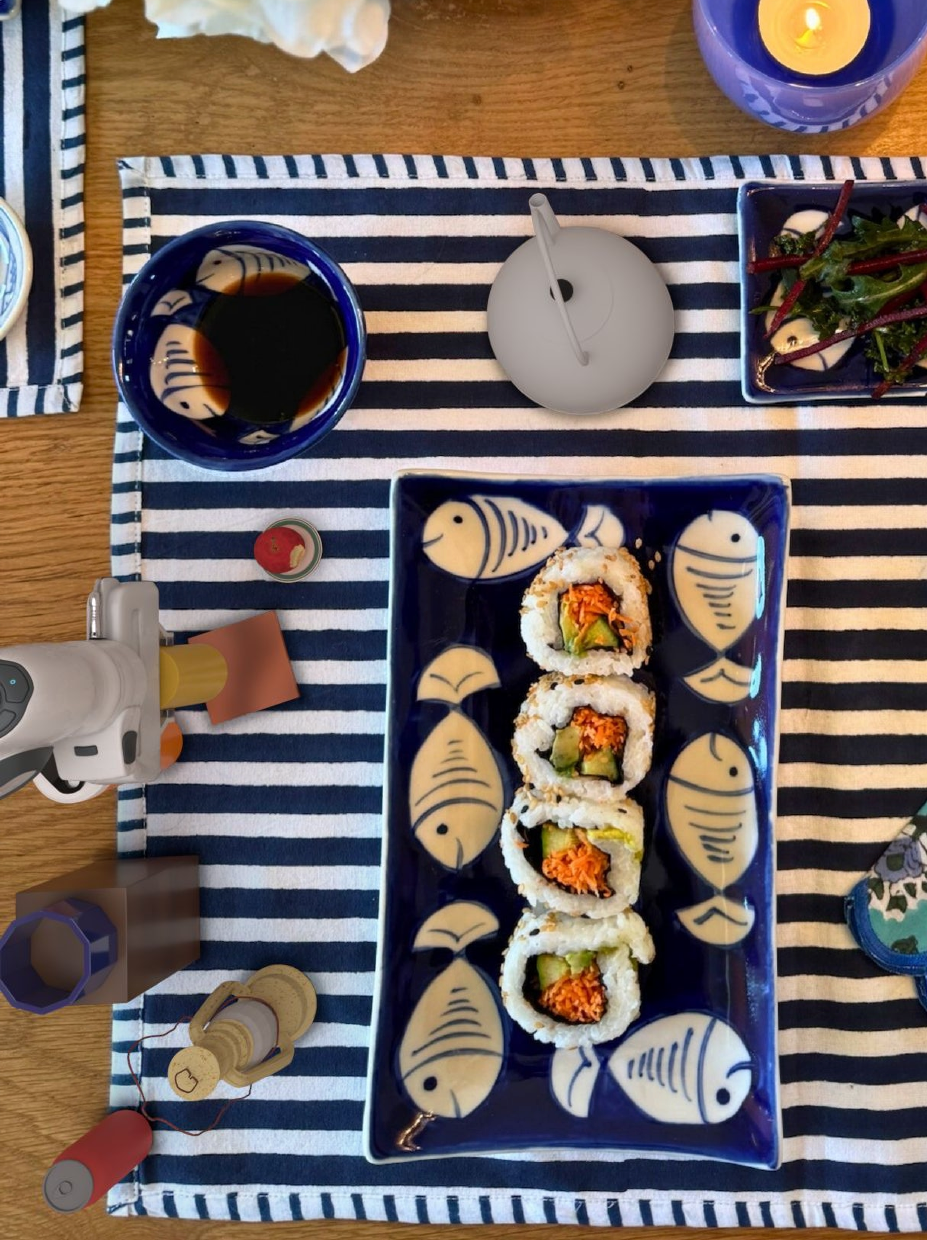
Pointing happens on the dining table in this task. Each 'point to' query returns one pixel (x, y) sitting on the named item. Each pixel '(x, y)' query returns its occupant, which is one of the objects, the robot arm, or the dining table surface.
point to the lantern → (241, 1034)
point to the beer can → (97, 1162)
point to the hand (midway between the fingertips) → (167, 677)
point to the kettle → (579, 317)
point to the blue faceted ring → (15, 977)
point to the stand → (120, 924)
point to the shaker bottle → (84, 790)
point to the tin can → (190, 674)
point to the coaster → (250, 667)
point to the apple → (288, 549)
